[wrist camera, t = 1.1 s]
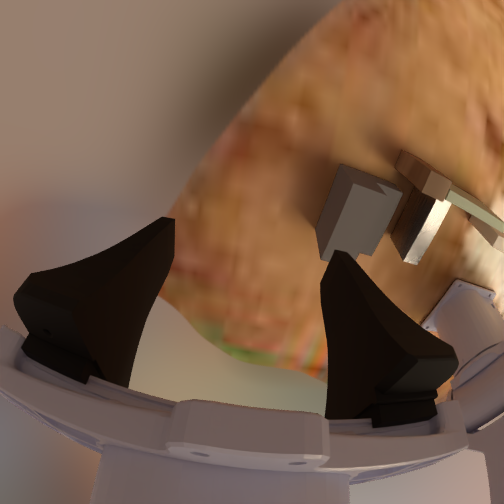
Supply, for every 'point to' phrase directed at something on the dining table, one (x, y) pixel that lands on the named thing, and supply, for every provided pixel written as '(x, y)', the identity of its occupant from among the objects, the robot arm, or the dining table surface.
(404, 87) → the dining table surface
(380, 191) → the block
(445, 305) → the robot arm
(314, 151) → the dining table surface
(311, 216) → the dining table surface
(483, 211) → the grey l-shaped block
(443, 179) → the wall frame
